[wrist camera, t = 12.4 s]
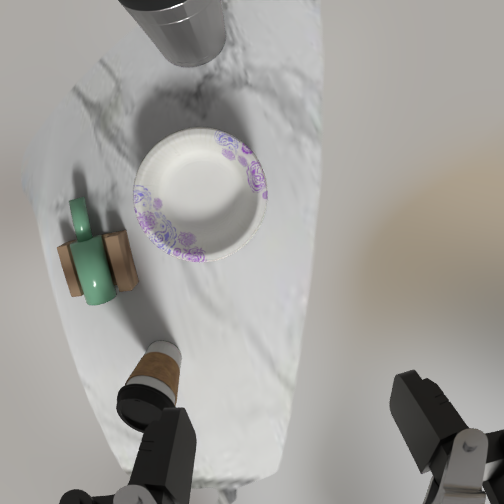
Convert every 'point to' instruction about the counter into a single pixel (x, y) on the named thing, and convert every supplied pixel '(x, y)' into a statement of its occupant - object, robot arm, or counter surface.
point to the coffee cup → (150, 386)
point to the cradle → (117, 261)
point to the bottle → (90, 258)
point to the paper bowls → (200, 194)
